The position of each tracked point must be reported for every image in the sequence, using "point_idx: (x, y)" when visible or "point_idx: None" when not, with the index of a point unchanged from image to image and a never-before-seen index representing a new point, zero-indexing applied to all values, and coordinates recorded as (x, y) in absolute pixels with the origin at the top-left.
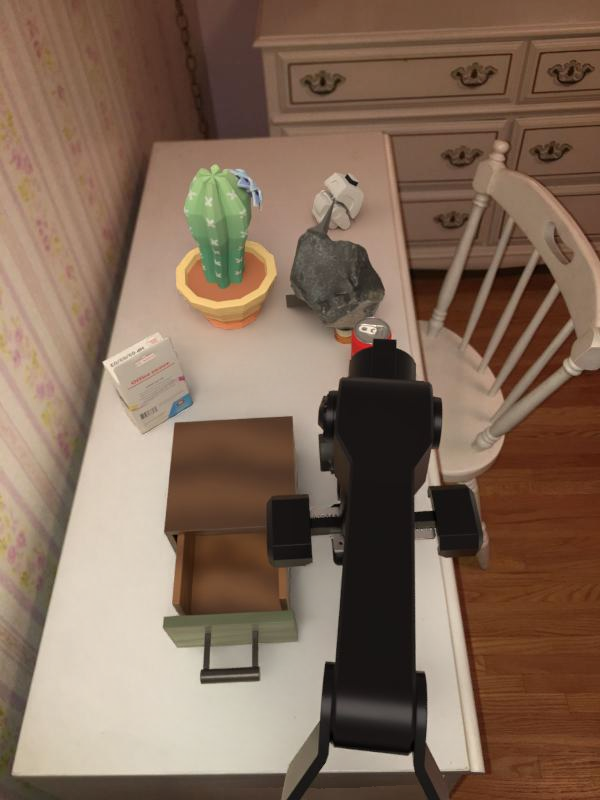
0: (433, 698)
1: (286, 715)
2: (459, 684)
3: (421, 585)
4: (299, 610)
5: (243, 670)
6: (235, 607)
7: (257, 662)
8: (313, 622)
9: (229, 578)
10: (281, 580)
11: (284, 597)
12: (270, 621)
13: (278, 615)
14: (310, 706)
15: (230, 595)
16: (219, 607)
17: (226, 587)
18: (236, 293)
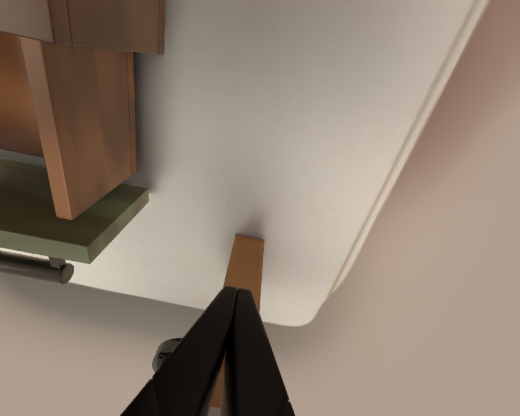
0: (303, 284)
1: (138, 260)
2: (337, 280)
3: (356, 164)
4: (158, 152)
5: (35, 273)
6: (37, 138)
7: (58, 265)
8: (178, 174)
9: (11, 79)
10: (54, 183)
11: (67, 218)
12: (44, 253)
13: (58, 247)
14: (165, 259)
15: (22, 114)
16: (8, 130)
17: (10, 96)
18: None
